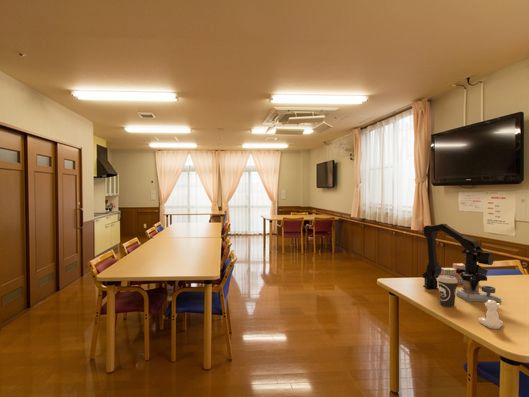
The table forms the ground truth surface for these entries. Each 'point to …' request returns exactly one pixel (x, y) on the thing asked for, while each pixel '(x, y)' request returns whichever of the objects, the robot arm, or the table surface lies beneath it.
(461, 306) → the table surface
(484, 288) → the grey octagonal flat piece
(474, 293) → the light gray tray
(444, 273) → the stack of blocks
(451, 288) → the coffee cup
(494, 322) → the sitting furry creature
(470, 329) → the table surface
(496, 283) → the table surface
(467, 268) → the robot arm
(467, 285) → the brown wooden block
